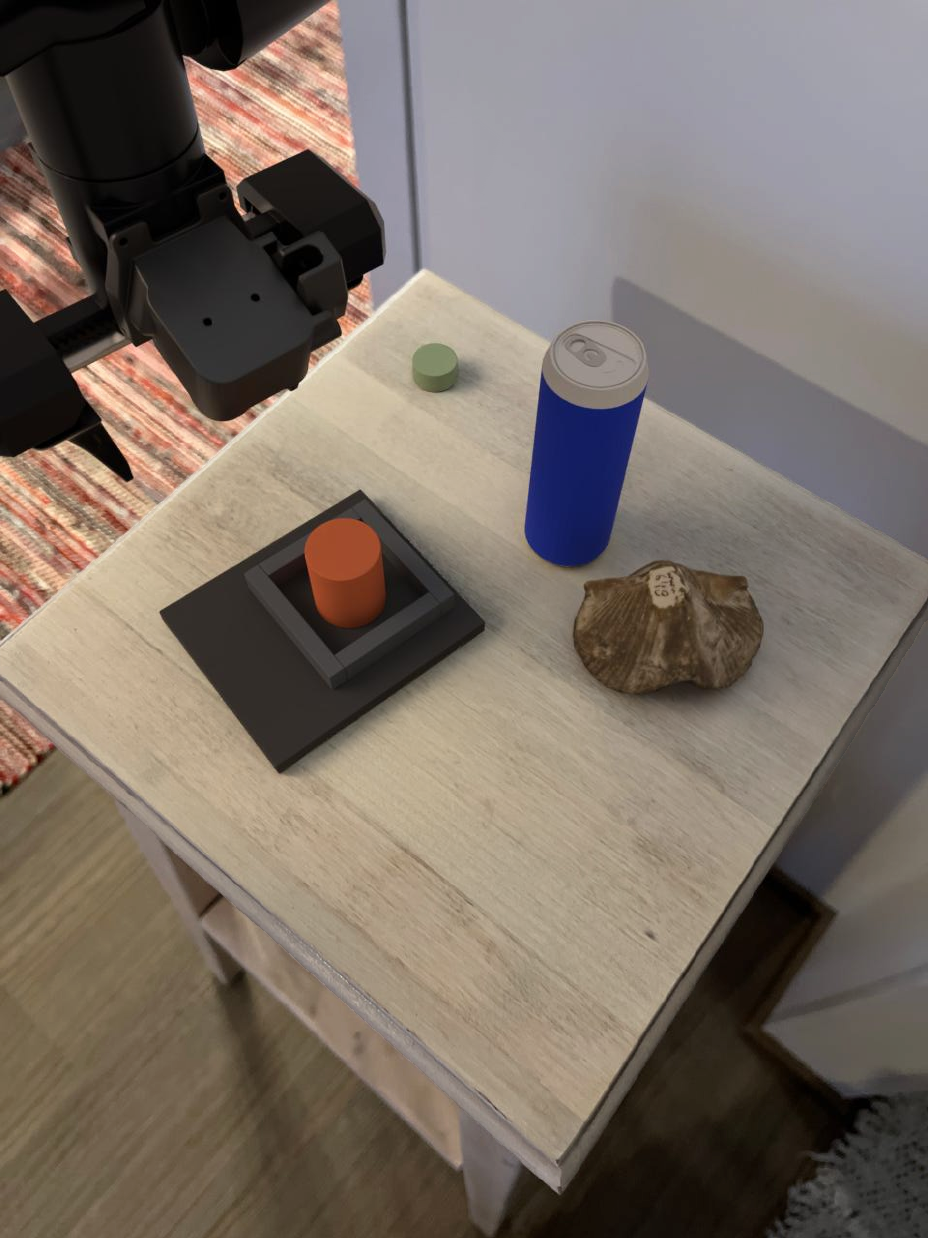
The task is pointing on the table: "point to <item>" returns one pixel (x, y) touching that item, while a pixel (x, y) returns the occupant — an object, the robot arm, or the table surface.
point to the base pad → (316, 637)
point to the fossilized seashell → (667, 629)
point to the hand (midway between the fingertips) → (209, 429)
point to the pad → (435, 367)
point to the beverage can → (583, 439)
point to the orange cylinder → (346, 572)
